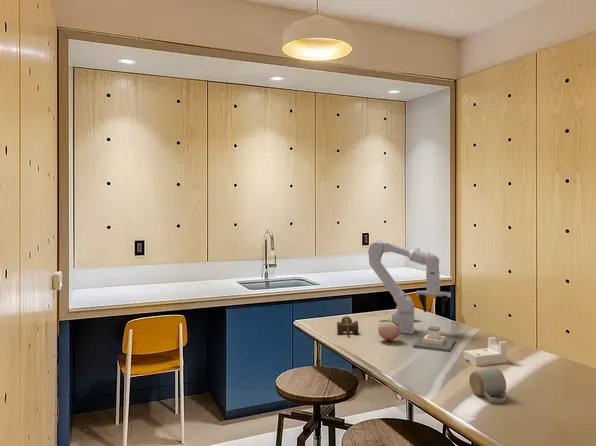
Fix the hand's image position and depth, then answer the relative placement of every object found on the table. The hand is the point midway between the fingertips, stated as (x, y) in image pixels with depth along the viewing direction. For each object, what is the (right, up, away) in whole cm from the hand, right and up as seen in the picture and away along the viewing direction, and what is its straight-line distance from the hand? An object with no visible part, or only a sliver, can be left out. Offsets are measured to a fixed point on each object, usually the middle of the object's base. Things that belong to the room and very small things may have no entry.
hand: (433, 312), depth 207 cm
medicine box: (-7, -9, +24) cm, 27 cm away
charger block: (-5, -9, -17) cm, 20 cm away
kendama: (-38, -11, +6) cm, 40 cm away
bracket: (+7, -11, -38) cm, 40 cm away
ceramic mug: (-4, -12, -70) cm, 71 cm away
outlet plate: (-5, -10, -17) cm, 21 cm away
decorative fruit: (-22, -10, -12) cm, 27 cm away
